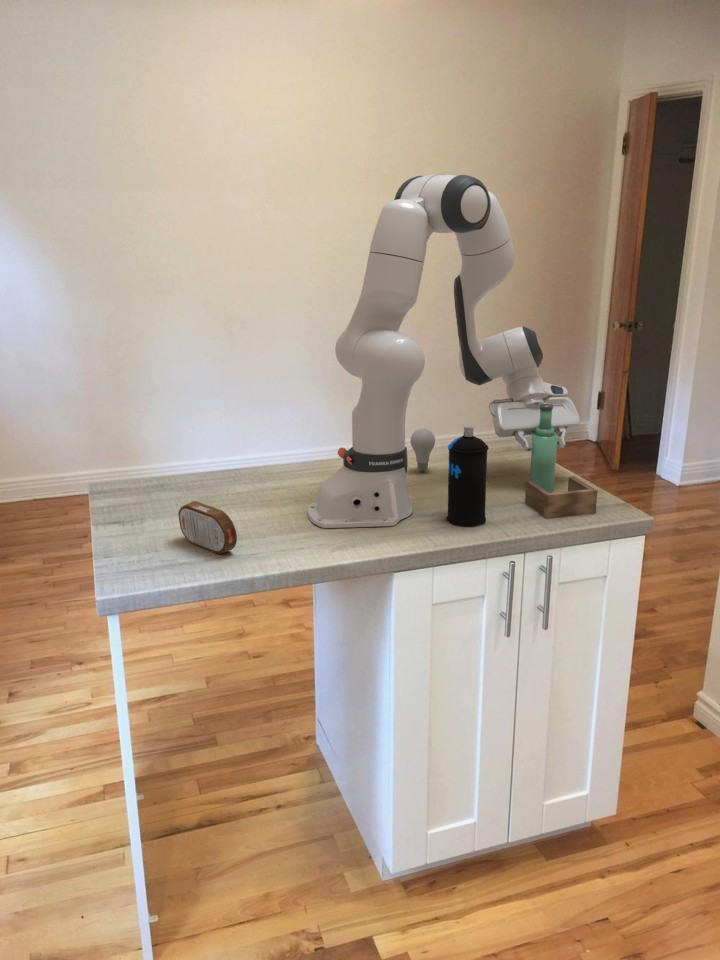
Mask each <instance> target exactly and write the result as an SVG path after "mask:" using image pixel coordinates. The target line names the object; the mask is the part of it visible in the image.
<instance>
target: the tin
mask: <svg viewBox="0 0 720 960" xmlns="http://www.w3.org/2000/svg"><path fill="white" fill-rule="evenodd" d="M178 522H179V527H180V528H179V529H180V530H181V533H182V534H183V536H184V537H185V539H186V540H187V542H189V543H191V544H192V543H193V545H194V546H198V547H199V546H200V548H202V547H203V548H202V549H204V548H205V550H206V551H210V552H211V551H212V553H214V554H217V555H220V554H224V553H226V552H228V551H232V550H233V549H235V547H236V545H237V542H238V541H237V540H238V535H237V530H236V528H235V527H236V526H235V524H234V522H233V520H232V518H231V517H230V516H229V515H228V514H227V513H226V512H225V511H223V510H222V509H220V508H216V507H214V506H211V505H208V504H205V503H202V502H200V501H198V500H194V501H191V502H189V503H187V504H184V505H183V506H181V507H180V509H179V511H178Z"/></svg>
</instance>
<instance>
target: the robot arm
mask: <svg viewBox="0 0 720 960" xmlns="http://www.w3.org/2000/svg"><path fill="white" fill-rule="evenodd" d="M506 218H507V217H506V215H505V213H504V211H503V209H502V206H501V204H500V203H499V200H498V198H497V196H496V195H495V194H494V193H493V192H492V191H489V190H488V189H487V187H486V185H485V184H484V182H482V181H481V180H480V179H478V178H476V177H474V176H471V175H467V174H459V175H455V174H445V173H433V174H428V175H417V176H414V177H411V178H408V179H406V180H405V181H404V182H403V183H402V184H401V185H400V186H399V188H398V189H397V191H396V193H395V196H394V200H391V201H389V202H387V203H385V205H384V206H383V207H382V210H381V211H380V214H379V216H378V218H377V222H376V224H375V228H374V231H373V235H372V238H371V242H370V247H369V250H368V251H369V252H368V257H367V262H366V269H365V274H364V278H363V281H362V283H363V284H362V286H361V287H362V289H361V291H360V295H359V298H358V301H357V304H356V306H355V308H354V311H353V314H352V316H351V317H350V320H349V323H348V324H347V327H346V328H345V330H344V331H342V333H340V335H339V337H338V338H337V340H336V342H335V349H334V351H335V356H336V359H337V361H338V363H339V364H340V366H342V368H343V369H344V370H345V371H346V372H347V373H349V374H350V375H351V376H354V377H355V378H359V379H361V388H360V389H361V390H360V395H359V398H358V402H357V405H355V407H354V408H353V410H352V412H351V429H352V430H351V435H352V436H351V438H352V439H351V442H352V446H351V447H350V448H349V449H346V448H345V447H343V446H341V447H339V448H338V449H337V455H338V456H339V457H340V459H342V462H343V466H341V467H340V468H339V469H338V470H337V471H335V472H334V473H333V474H332V475H330V476H328V478H326V479H325V480H324V481H322V483H321V485H320V486H319V489H318V493H317V494H318V495H317V499H316V500H317V501H316V502H312V503H310V504H309V505H308V507H307V510H306V511H307V517H308V519H309V521H311V523H313V524H314V525H315V526H317V527H320V528H323V529H335V528H337V529H338V528H339V529H340V528H341V529H342V528H366V527H367V528H368V527H369V528H370V527H371V528H372V527H393V526H396V525H397V524H398V523H399V522H400V521H401V520H404V519H405V518H408V517H409V516H410V515H412V514H413V507H412V506H413V505H412V504H411V499H410V495H409V490H408V489H409V488H408V483H407V473H408V465H409V464H408V463H409V461H408V459H409V458H408V448H407V446H406V415H407V414H406V413H407V407H408V402H409V398H410V395H411V391H412V388H413V386H414V384H415V383H416V382H417V381H418V380H419V378H420V377H421V376H422V373H423V371H424V368H425V364H426V362H425V353H424V351H423V348H422V347H421V346H420V344H419V343H417V342H416V341H415V340H414V339H413V338H411V337H410V336H408V335H407V334H406V333H403V332H400V331H399V330H400V328H401V325H402V322H403V321H404V319H405V317H406V315H407V314H408V312H409V311H410V310H411V309H412V308H413V307H414V306H415V304H416V302H417V300H418V296H419V290H420V285H421V281H422V273H423V270H424V263H425V259H426V253H427V245H428V241H429V239H430V237H431V236H432V234H433V233H435V234H449V233H454V234H455V236H456V241H457V246H458V249H459V252H460V256H461V268H460V271H459V274H458V275H457V276H456V277H454V282H453V298H454V299H453V300H454V311H455V318H456V327H457V335H458V343H459V354H458V355H459V356H458V357H459V358H458V359H459V360H458V361H459V368H460V372H461V374H462V376H463V378H464V379H465V380H466V381H467V382H468V383H471V384H474V385H476V386H482V385H484V384H487V383H489V382H492V381H494V380H496V379H498V378H502V381H503V382H504V384H505V387H506V388H505V389H506V394H507V398H504V399H494V400H493V401H491V402H490V403H489V405H488V409H489V412H490V415H491V416H492V423H493V424H492V425H493V429H494V432H495V435H496V436H497V437H499V438H508V437H509V438H510V437H514V438H515V441H517V442H518V443H519V445H520V446H522V448H523V451H524V452H531V449H532V448H533V446H532V440H527V438H525V436H532V434H533V433H535V432H536V427H539V423H540V409H539V406H540V404H552V405H553V410H552V420H551V427H553V428H554V433H555V434H557V437H558V438H557V449H564V448H565V446H566V441H565V436H566V433H570V432H574V431H575V430H576V429H577V428H578V427H579V426H580V424H581V417H580V415H579V412H578V410H577V407H576V406H575V404H574V402H573V400H572V399H571V398H570V397H568V393H569V391H568V389H567V388H566V387H565V386H561V385H557V384H556V385H555V384H553V383H548V382H546V381H544V379H543V378H542V376H541V375H540V373H539V367H540V365H541V363H542V361H543V359H544V354H543V351H542V349H541V347H540V345H539V343H538V342H539V341H538V337H537V333H536V332H535V331H534V330H533V329H531V328H529V327H526V326H523V325H522V326H518V327H514V328H510V329H508V330H505V331H501V332H500V333H497V334H493V335H491V336H488V337H485V338H481V339H478V338H477V332H476V331H477V330H476V322H475V320H476V319H475V309H476V307H477V305H478V303H479V302H480V301H481V300H482V299H483V298H484V297H485V296H486V295H487V294H489V292H491V291H492V290H494V289H495V288H496V287H498V286H499V285H500V284H502V282H504V280H505V279H506V278H507V277H508V275H509V274H510V273H511V271H512V269H513V266H514V263H515V259H516V257H515V249H514V242H513V238H512V235H511V231H510V228H509V227H510V226H509V224H508V221H507V219H506Z"/></svg>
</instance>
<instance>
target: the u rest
mask: <svg viewBox="0 0 720 960" xmlns="http://www.w3.org/2000/svg"><path fill="white" fill-rule="evenodd" d="M524 495H525V496H524V497H525V498H524V503H525V504H526V505H528V507H530V508H532V510H535V511H536V512H537V513H538V514H540V515H541V516H543V518H545V519H550V518H551V517H553V518H560V517H559V516H562V517H569V515H571V516H580V514H581V515H588V513H590V514H596V513H597V502H598V499H597V498H598V490H597V489H596V488H594V487H592V486H590V485H589V484H587V483H585V482H584V481H582V480H581V479H578V478H577V477H575V476H574V475H573V476H569V477H568V481H567V491H558V492H550V493H549V492H548V491H546V490H545V489H543V488H542V487H540V486H539V485H537V484H536V483H534V482H533V481H530V480H526V481H525V493H524ZM551 519H552V518H551Z"/></svg>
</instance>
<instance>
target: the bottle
mask: <svg viewBox="0 0 720 960" xmlns="http://www.w3.org/2000/svg"><path fill="white" fill-rule="evenodd" d="M539 409H540V423H539V427H536V432H535V433H533V434H532V435H531V443H532V446H533V448H532V449H531V451H530V466H529V470H530V471H529V481H533V482H534V483H536V484H537V485H539V486H540V487H542V488H543V489H545V490H546V491H548V492H549V493H554V492H555V480H556V468H557V466H556V464H557V449H558V448H557V439H558V436H557V434H556V433H554V428H553V427H551V420H552V410H553V405H552V404H540V406H539Z"/></svg>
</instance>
